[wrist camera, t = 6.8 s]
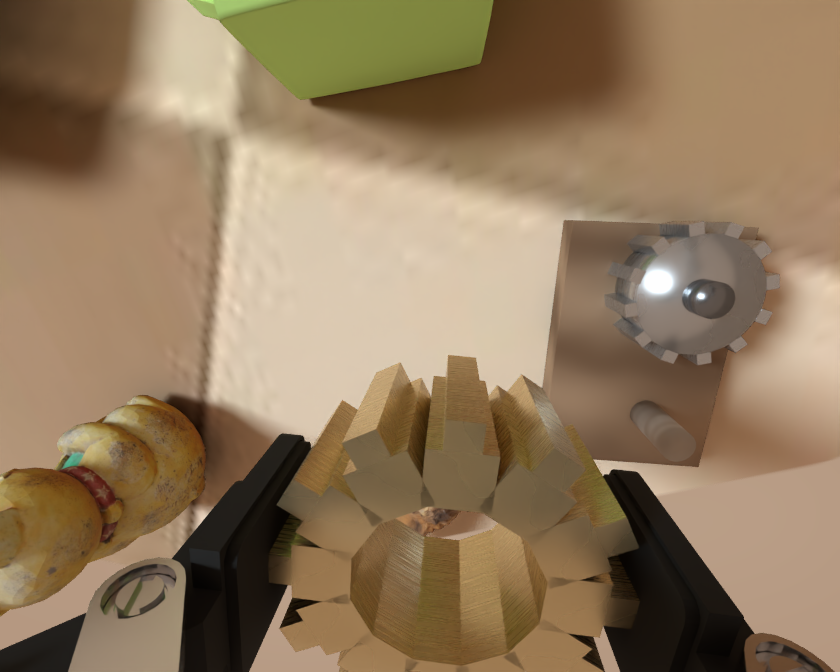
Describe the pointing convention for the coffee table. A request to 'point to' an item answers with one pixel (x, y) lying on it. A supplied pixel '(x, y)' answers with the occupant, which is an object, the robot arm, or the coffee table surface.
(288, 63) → the green square teapot
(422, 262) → the coffee table surface
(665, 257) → the grey gear
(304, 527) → the brass gear
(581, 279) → the gear board
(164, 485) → the decorative figurine
